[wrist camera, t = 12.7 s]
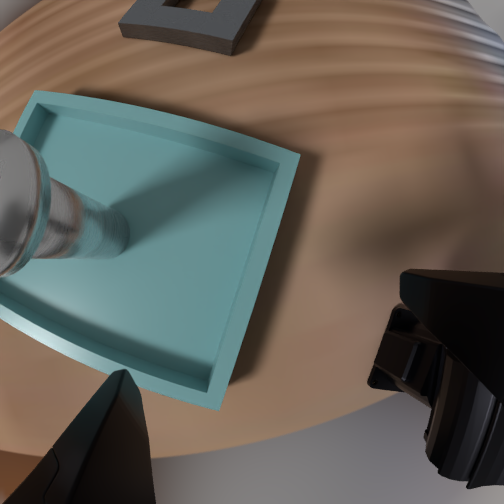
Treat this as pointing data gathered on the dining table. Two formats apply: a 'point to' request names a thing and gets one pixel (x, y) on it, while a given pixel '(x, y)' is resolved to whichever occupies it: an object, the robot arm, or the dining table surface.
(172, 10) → the pin collar
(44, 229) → the pin
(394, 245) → the dining table surface
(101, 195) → the tray
